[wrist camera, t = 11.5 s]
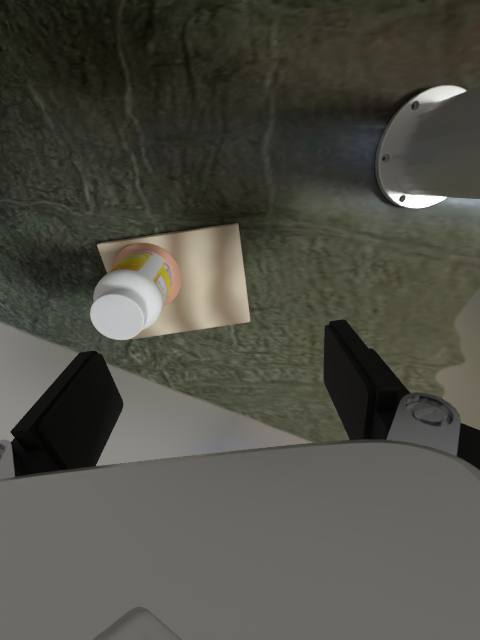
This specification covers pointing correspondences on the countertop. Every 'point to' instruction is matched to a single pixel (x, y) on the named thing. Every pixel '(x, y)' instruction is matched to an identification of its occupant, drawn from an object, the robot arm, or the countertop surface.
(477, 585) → the robot arm
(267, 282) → the countertop surface
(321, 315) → the countertop surface
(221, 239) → the seat board
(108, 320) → the supplement bottle
